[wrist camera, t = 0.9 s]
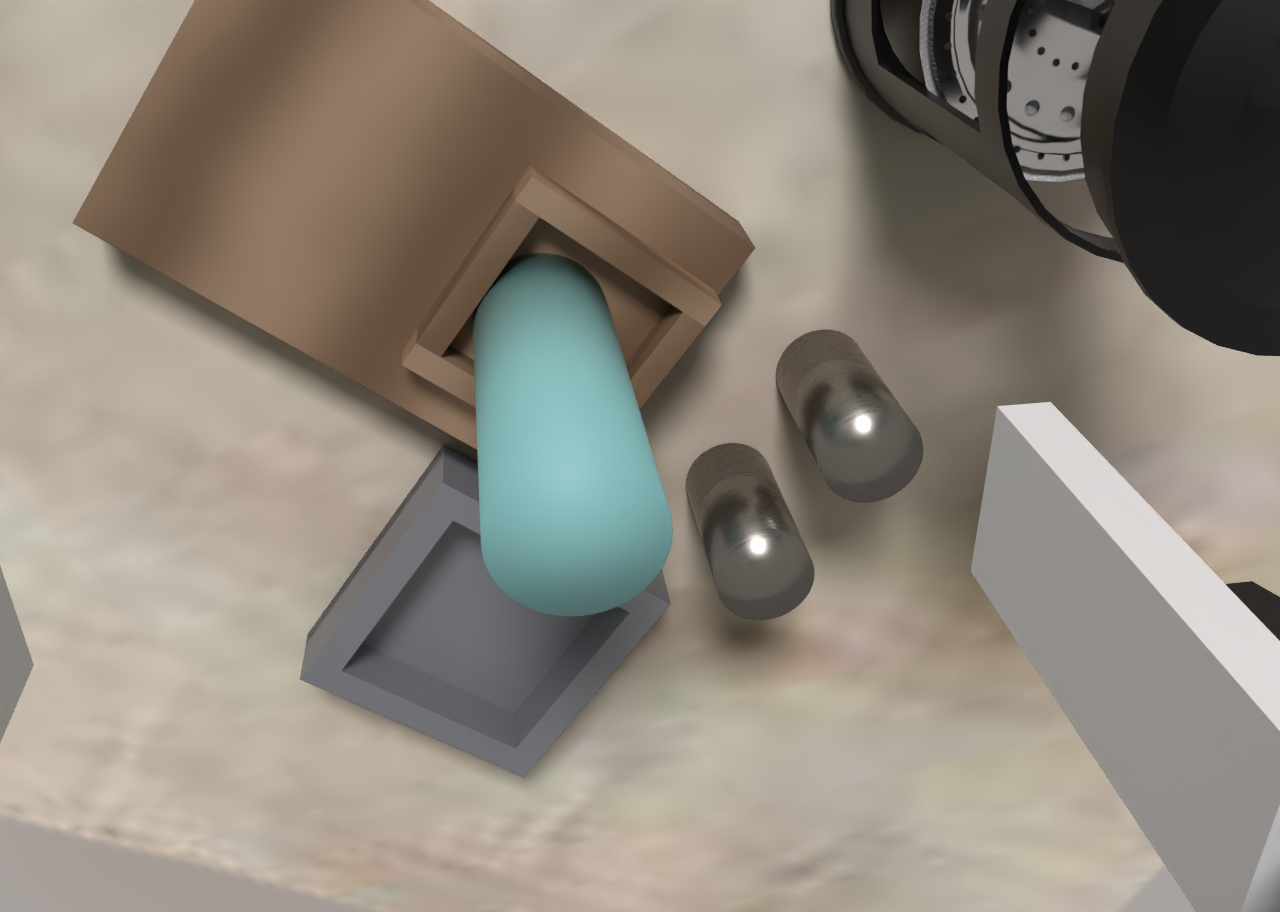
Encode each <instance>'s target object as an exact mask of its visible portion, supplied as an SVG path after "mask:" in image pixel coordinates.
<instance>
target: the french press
mask: <svg viewBox="0 0 1280 912" xmlns="http://www.w3.org/2000/svg"><path fill="white" fill-rule="evenodd" d="M831 15H832V19H833V24H834V28H835V33H836V37H837V42H838V46H839V48H840V51H841V53H842V55H843V58H844V60H845V62H846V64H847V67H848V69H849V71H850V73H851V75H852V76H853V78H854V79H855V81H856V82H857V83H858V85H859V86H860V87H861V89H862V90H863V92H864V93H865V94H866V96H867V97H868V98H869V99H870V100H871V101H872V102H873V103H874V104H876V105H877V106H878V107H879V108H880V109H881V110H882V111H883V112H885V113H886V114H887V115H888V116H889V117H890V118H892V119H893V120H895V121H897V122H899V123H901V124H902V125H904V126H906V127H908V128H910V129H912V130H914V131H915V132H917V133H921V134H924V135H927V136H929V137H930V138H932V139H934V140H936V141H938V142H940V143H941V144H943V145H945V146H946V147H948V148H949V149H950V150H952V151H953V152H954V153H956V154H957V155H958V156H960V157H961V158H962V159H964V160H965V161H966V162H968V163H969V164H970V165H972V166H973V167H974V168H976V169H977V170H979V171H980V172H981V173H983V174H984V175H985V176H987V177H988V178H989V179H991V180H992V181H993V182H995V183H996V184H997V185H999V186H1000V187H1001V188H1003V189H1004V190H1005V191H1007V192H1008V193H1009V194H1011V195H1012V196H1013V197H1015V198H1016V199H1017V200H1018V201H1019V202H1020V203H1021V204H1023V205H1024V206H1025V207H1026V208H1027V209H1028V210H1029V211H1030V212H1031V213H1033V214H1034V215H1035V216H1036V217H1037V218H1038V219H1039V220H1040V221H1042V222H1043V223H1044V224H1046V225H1047V226H1048V227H1050V228H1051V229H1052V230H1054V231H1055V232H1056V233H1058V234H1059V235H1060V236H1062V237H1063V238H1064V239H1066V240H1068V241H1070V242H1072V243H1074V244H1075V245H1077V246H1079V247H1081V248H1083V249H1085V250H1087V251H1089V252H1091V253H1092V254H1094V255H1096V256H1100V257H1104V258H1108V259H1111V260H1115V261H1119V262H1123V263H1124V264H1125V265H1126V267H1127V268H1128V270H1129V271H1130V273H1131V274H1132V276H1133V277H1134V279H1135V280H1136V282H1137V283H1138V285H1139V286H1140V288H1141V289H1142V291H1143V292H1144V294H1145V295H1146V296H1147V297H1148V298H1149V299H1150V300H1151V301H1153V302H1154V303H1155V304H1156V305H1157V306H1158V307H1159V308H1160V309H1161V310H1162V311H1164V312H1165V313H1166V314H1167V315H1168V316H1169V317H1170V318H1171V319H1172V320H1174V321H1175V322H1176V323H1177V324H1179V325H1180V326H1181V327H1183V328H1185V329H1187V330H1189V331H1191V332H1193V333H1195V334H1196V335H1198V336H1200V337H1202V338H1204V339H1206V340H1208V341H1210V342H1212V343H1214V344H1216V345H1218V346H1222V347H1226V348H1230V349H1234V350H1238V351H1242V352H1246V353H1250V354H1254V355H1262V356H1280V0H923V1H922V7H921V12H920V35H919V47H920V57H921V64H922V70H923V74H924V78H925V83H926V86H925V85H923V84H922V83H920V82H919V81H918V80H917V79H916V78H915V77H913V76H912V75H911V74H910V73H909V72H908V71H907V70H906V69H905V68H904V66H903V65H902V63H901V62H900V60H899V59H898V58H897V56H896V55H895V53H894V52H893V50H892V47H891V45H890V42H889V40H888V38H887V35H886V33H885V30H884V25H883V20H882V15H881V10H880V0H831ZM1084 178H1085V179H1086V182H1087V185H1088V188H1089V191H1090V194H1091V196H1092V199H1093V202H1094V205H1095V208H1096V210H1097V213H1098V215H1099V216H1100V218H1101V220H1102V221H1103V223H1104V224H1105V226H1106V227H1107V229H1108V230H1109V232H1110V233H1111V235H1112V236H1113V238H1108V237H1103V236H1099V235H1095V234H1092V233H1088V232H1084V231H1081V230H1077V229H1074V228H1072V227H1070V226H1068V225H1066V224H1064V223H1062V222H1061V221H1059V220H1057V219H1056V218H1055V217H1054V216H1053V215H1051V214H1050V213H1049V212H1048V211H1047V210H1046V209H1045V208H1044V206H1043V205H1042V203H1041V202H1040V200H1039V199H1038V197H1037V196H1036V194H1035V193H1034V191H1033V190H1032V188H1031V187H1030V185H1029V184H1028V183H1027V181H1026V179H1027V180H1032V181H1051V182H1064V181H1070V180H1077V179H1084Z"/></svg>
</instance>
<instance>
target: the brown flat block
mask: <svg viewBox="0 0 1280 912" xmlns="http://www.w3.org/2000/svg"><path fill="white" fill-rule="evenodd" d="M73 224H75V225H77V226H79V227H80V228H82V229H84V230H86V231H87V232H89V233H91V234H93V235H95V236H96V237H98V238H100V239H102V240H104V241H105V242H107V243H109V244H111V245H112V246H114V247H116V248H118V249H120V250H121V251H123V252H125V253H127V254H129V255H130V256H132V257H134V258H136V259H137V260H139V261H141V262H143V263H145V264H146V265H148V266H150V267H152V268H153V269H155V270H157V271H159V272H161V273H162V274H164V275H166V276H168V277H170V278H171V279H173V280H175V281H177V282H178V283H180V284H182V285H184V286H186V287H187V288H189V289H191V290H193V291H195V292H196V293H198V294H200V295H202V296H203V297H205V298H207V299H209V300H211V301H212V302H214V303H216V304H218V305H220V306H221V307H223V308H225V309H227V310H228V311H230V312H232V313H234V314H236V315H237V316H239V317H241V318H243V319H245V320H246V321H248V322H250V323H252V324H253V325H255V326H257V327H259V328H261V329H262V330H264V331H266V332H268V333H269V334H271V335H273V336H275V337H277V338H278V339H280V340H282V341H284V342H286V343H287V344H289V345H291V346H293V347H294V348H296V349H298V350H300V351H302V352H303V353H305V354H307V355H309V356H311V357H312V358H314V359H316V360H318V361H319V362H321V363H323V364H325V365H327V366H328V367H330V368H332V369H334V370H336V371H337V372H339V373H341V374H343V375H344V376H346V377H348V378H350V379H352V380H353V381H355V382H357V383H359V384H360V385H362V386H364V387H366V388H368V389H369V390H371V391H373V392H375V393H377V394H378V395H380V396H382V397H384V398H385V399H387V400H389V401H391V402H393V403H394V404H396V405H398V406H400V407H402V408H403V409H405V410H407V411H409V412H410V413H412V414H414V415H416V416H418V417H419V418H421V419H423V420H425V421H427V422H428V423H430V424H432V425H434V426H435V427H437V428H439V429H441V430H443V431H444V432H446V433H448V434H450V435H452V436H453V437H455V438H457V439H459V440H460V441H462V442H464V443H466V444H468V445H469V446H471V447H473V448H475V449H476V450H477V429H476V403H475V377H474V351H473V325H472V312H473V311H474V309H475V308H476V307H477V305H478V304H479V302H480V301H481V299H482V298H483V297H484V295H485V294H486V292H487V291H488V289H489V288H490V287H491V285H492V284H493V282H494V281H495V280H496V278H497V277H498V275H499V274H500V272H501V271H502V270H503V268H504V267H505V265H506V264H507V263H508V261H509V260H511V259H513V258H516V257H518V256H522V255H526V254H532V253H551V254H557V255H561V256H564V257H567V258H569V259H572V260H574V261H575V262H577V263H579V264H581V265H582V266H583V267H585V268H586V269H587V270H588V271H589V272H590V273H591V274H592V275H593V276H594V277H595V278H596V280H597V281H598V282H599V284H600V286H601V288H602V289H603V292H604V294H605V297H606V300H607V304H608V307H609V310H610V313H611V317H612V320H613V323H614V327H615V330H616V333H617V337H618V340H619V343H620V347H621V350H622V353H623V357H624V360H625V363H626V367H627V370H628V373H629V377H630V380H631V383H632V387H633V390H634V393H635V397H636V400H637V403H638V407H639V410H640V408H641V407H642V406H643V404H644V403H645V402H646V401H647V399H648V398H649V397H650V396H651V394H652V393H653V392H654V391H655V389H656V388H657V387H658V385H659V384H660V383H661V382H662V380H663V379H664V378H665V377H666V375H667V374H668V373H669V372H670V370H671V369H672V368H673V366H674V365H675V364H676V363H677V361H678V360H679V359H680V358H681V356H682V355H683V354H684V353H685V351H686V350H687V349H688V347H689V346H690V345H691V344H692V342H693V341H694V340H695V339H696V337H697V336H698V335H699V334H700V332H701V331H702V330H703V328H704V327H705V326H706V325H707V323H708V322H709V321H710V320H711V318H712V317H713V316H714V315H715V313H716V312H717V311H718V309H719V308H720V307H721V306H722V304H721V302H720V300H719V298H718V295H719V294H720V292H721V291H722V290H723V289H724V287H725V286H726V285H727V284H728V282H729V281H730V280H731V278H732V277H733V276H734V275H735V273H736V272H737V271H738V270H739V268H740V267H741V266H742V264H743V263H744V262H745V261H746V259H747V258H748V257H749V256H750V254H751V253H752V252H753V250H754V249H755V247H754V245H753V244H752V242H751V240H750V239H749V237H748V236H747V234H746V232H745V231H744V229H743V228H742V226H741V224H740V223H739V222H738V221H737V220H736V219H734V218H733V217H731V216H730V215H729V214H727V213H726V212H724V211H723V210H722V209H720V208H719V207H717V206H716V205H715V204H713V203H712V202H710V201H709V200H708V199H706V198H705V197H703V196H702V195H701V194H699V193H698V192H696V191H695V190H694V189H692V188H691V187H689V186H688V185H687V184H685V183H684V182H682V181H681V180H680V179H678V178H677V177H675V176H674V175H673V174H671V173H670V172H668V171H667V170H666V169H664V168H663V167H661V166H660V165H659V164H657V163H656V162H654V161H653V160H652V159H650V158H649V157H647V156H646V155H645V154H643V153H642V152H640V151H639V150H638V149H636V148H635V147H633V146H632V145H631V144H629V143H628V142H626V141H625V140H624V139H622V138H621V137H619V136H618V135H617V134H615V133H614V132H612V131H611V130H610V129H608V128H607V127H605V126H604V125H603V124H601V123H600V122H598V121H597V120H596V119H594V118H593V117H591V116H590V115H589V114H587V113H586V112H584V111H583V110H582V109H580V108H579V107H577V106H576V105H575V104H573V103H572V102H570V101H569V100H568V99H566V98H565V97H563V96H562V95H561V94H559V93H558V92H556V91H555V90H554V89H552V88H551V87H549V86H548V85H547V84H545V83H544V82H542V81H541V80H540V79H538V78H537V77H535V76H534V75H533V74H531V73H530V72H528V71H527V70H526V69H524V68H523V67H521V66H520V65H519V64H517V63H516V62H514V61H513V60H512V59H510V58H509V57H507V56H506V55H505V54H503V53H502V52H500V51H499V50H498V49H496V48H495V47H493V46H492V45H491V44H489V43H488V42H486V41H485V40H484V39H482V38H481V37H479V36H478V35H477V34H475V33H474V32H472V31H471V30H470V29H468V28H467V27H465V26H464V25H463V24H461V23H460V22H458V21H457V20H456V19H454V18H453V17H451V16H450V15H449V14H447V13H446V12H444V11H443V10H442V9H440V8H439V7H437V6H436V5H435V4H433V3H432V2H430V1H429V0H195V1H194V3H193V5H192V7H191V8H190V10H189V12H188V14H187V16H186V17H185V19H184V21H183V23H182V25H181V27H180V28H179V30H178V32H177V34H176V36H175V38H174V39H173V41H172V43H171V45H170V47H169V48H168V50H167V52H166V54H165V56H164V58H163V59H162V61H161V63H160V65H159V67H158V68H157V70H156V72H155V74H154V76H153V78H152V79H151V81H150V83H149V85H148V87H147V88H146V90H145V92H144V94H143V96H142V98H141V99H140V101H139V103H138V105H137V107H136V108H135V110H134V112H133V114H132V116H131V118H130V119H129V121H128V123H127V125H126V127H125V128H124V130H123V132H122V134H121V136H120V138H119V139H118V141H117V143H116V145H115V147H114V148H113V150H112V152H111V154H110V156H109V158H108V159H107V161H106V163H105V165H104V167H103V168H102V170H101V172H100V174H99V176H98V178H97V179H96V181H95V183H94V185H93V187H92V189H91V190H90V192H89V194H88V196H87V198H86V199H85V201H84V203H83V205H82V207H81V209H80V210H79V212H78V214H77V216H76V218H75V219H74V221H73Z"/></svg>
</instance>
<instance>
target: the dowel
mask: <svg viewBox="0 0 1280 912" xmlns="http://www.w3.org/2000/svg"><path fill="white" fill-rule="evenodd" d="M472 325H473V351H474V377H475V403H476V429H477V455H478V481H479V507H480V533H481V549H482V555H483V559H484V562H485V565H486V567H487V569H488V571H489V573H490V575H491V577H492V578H493V580H494V581H495V582H496V584H497V585H498V586H499V587H500V588H501V589H502V590H503V591H504V592H505V593H506V594H507V595H508V596H510V597H511V598H512V599H514V600H515V601H517V602H519V603H520V604H522V605H524V606H526V607H528V608H531V609H533V610H536V611H539V612H542V613H546V614H551V615H557V616H584V615H591V614H596V613H600V612H604V611H607V610H609V609H612V608H615V607H617V606H619V605H621V604H623V603H625V602H627V601H629V600H630V599H632V598H633V597H635V596H636V595H638V594H639V593H640V592H641V591H643V590H644V589H645V588H646V587H647V586H648V585H649V584H650V583H651V582H652V581H653V580H654V578H655V577H656V576H657V574H658V573H659V572H660V570H661V568H662V567H663V565H664V563H665V561H666V559H667V556H668V553H669V551H670V546H671V542H672V532H673V528H672V518H671V514H670V510H669V506H668V503H667V500H666V496H665V493H664V490H663V486H662V483H661V480H660V476H659V473H658V470H657V466H656V463H655V460H654V457H653V453H652V450H651V447H650V443H649V440H648V437H647V433H646V430H645V427H644V423H643V420H642V417H641V413H640V410H639V407H638V403H637V400H636V397H635V393H634V390H633V387H632V383H631V380H630V377H629V373H628V370H627V367H626V363H625V360H624V357H623V353H622V350H621V347H620V343H619V340H618V337H617V333H616V330H615V327H614V323H613V320H612V317H611V313H610V310H609V307H608V304H607V300H606V297H605V294H604V292H603V289H602V288H601V286H600V284H599V282H598V281H597V280H596V278H595V277H594V276H593V275H592V274H591V273H590V272H589V271H588V270H587V269H586V268H585V267H583V266H582V265H581V264H579V263H577V262H575V261H574V260H572V259H569V258H567V257H564V256H561V255H557V254H551V253H532V254H526V255H522V256H518V257H516V258H513V259H511V260H509V261H508V263H507V264H506V265H505V267H504V268H503V270H502V271H501V272H500V274H499V275H498V277H497V278H496V280H495V281H494V282H493V284H492V285H491V287H490V288H489V289H488V291H487V292H486V294H485V295H484V297H483V298H482V299H481V301H480V302H479V304H478V305H477V307H476V308H475V309H474V311H473V312H472Z"/></svg>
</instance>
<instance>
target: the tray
mask: <svg viewBox="0 0 1280 912" xmlns="http://www.w3.org/2000/svg"><path fill="white" fill-rule="evenodd" d="M670 605H671V604H670V600H669V596H668V592H667V588H666V584H665V580H664V576H663V572H662V569H661V570H660V572H659V573H658V574H657V576H656V577H655V578H654V580H653V581H652V582H651V583H650V584H649V585H648V586H647V587H646V588H645V589H644V590H643V591H641V592H640V593H639V594H638V595H636V596H635V597H633V598H632V599H630V600H629V601H627V602H625V603H623V604H621V605H619V606H617V607H615V608H612V609H609V610H607V611H604V612H600V613H596V614H591V615H584V616H557V615H551V614H546V613H542V612H539V611H536V610H533V609H531V608H528V607H526V606H524V605H522V604H520V603H519V602H517V601H515V600H514V599H512V598H511V597H510V596H508V595H507V594H506V593H505V592H504V591H503V590H502V589H501V588H500V587H499V586H498V585H497V584H496V582H495V581H494V580H493V578H492V577H491V575H490V573H489V571H488V569H487V567H486V565H485V562H484V559H483V555H482V549H481V533H480V507H479V481H478V463H476V462H474V461H472V460H470V459H469V458H467V457H465V456H463V455H461V454H460V453H458V452H456V451H454V450H452V449H450V448H449V447H447V446H445V445H443V447H442V448H441V450H440V451H439V452H438V454H437V455H436V456H435V458H434V459H433V461H432V462H431V463H430V465H429V466H428V468H427V469H426V470H425V472H424V473H423V475H422V476H421V477H420V479H419V480H418V482H417V483H416V484H415V486H414V487H413V489H412V490H411V491H410V493H409V494H408V495H407V497H406V498H405V500H404V501H403V502H402V504H401V505H400V507H399V508H398V509H397V511H396V512H395V514H394V515H393V516H392V518H391V519H390V521H389V522H388V523H387V525H386V526H385V527H384V529H383V530H382V532H381V533H380V534H379V536H378V537H377V539H376V540H375V541H374V543H373V544H372V546H371V547H370V548H369V550H368V551H367V553H366V554H365V555H364V557H363V558H362V560H361V561H360V562H359V564H358V565H357V566H356V568H355V569H354V571H353V572H352V573H351V575H350V576H349V578H348V579H347V580H346V582H345V583H344V585H343V586H342V587H341V589H340V590H339V592H338V593H337V594H336V596H335V597H334V599H333V600H332V601H331V603H330V604H329V605H328V607H327V608H326V610H325V611H324V612H323V614H322V615H321V617H320V618H319V619H318V621H317V622H316V624H315V625H314V626H313V628H312V629H311V631H310V632H309V633H308V637H307V642H306V648H305V653H304V659H303V664H302V670H301V675H300V680H302V681H305V682H307V683H309V684H312V685H314V686H316V687H318V688H321V689H323V690H325V691H328V692H330V693H332V694H334V695H337V696H339V697H341V698H344V699H346V700H348V701H350V702H353V703H355V704H357V705H359V706H362V707H364V708H366V709H369V710H371V711H373V712H375V713H378V714H380V715H382V716H385V717H387V718H389V719H391V720H394V721H396V722H398V723H400V724H403V725H405V726H407V727H410V728H412V729H414V730H416V731H419V732H421V733H423V734H426V735H428V736H430V737H432V738H435V739H437V740H439V741H441V742H444V743H446V744H448V745H451V746H453V747H455V748H457V749H460V750H462V751H464V752H467V753H469V754H471V755H473V756H476V757H478V758H480V759H482V760H485V761H487V762H489V763H492V764H494V765H496V766H498V767H501V768H503V769H505V770H508V771H510V772H512V773H514V774H517V775H519V776H521V777H523V778H524V776H525V775H526V774H527V773H528V772H529V770H530V769H531V768H532V767H533V766H534V765H535V763H536V762H537V761H538V760H539V759H540V758H541V756H542V755H543V754H544V753H545V752H546V750H547V749H548V748H549V747H550V746H551V745H552V743H553V742H554V741H555V740H556V739H557V738H558V736H559V735H560V734H561V733H562V732H563V730H564V729H565V728H566V727H567V726H568V725H569V723H570V722H571V721H572V720H573V719H574V718H575V716H576V715H577V714H578V713H579V712H580V710H581V709H582V708H583V707H584V706H585V705H586V703H587V702H588V701H589V700H590V699H591V698H592V696H593V695H594V694H595V693H596V692H597V690H598V689H599V688H600V687H601V686H602V685H603V683H604V682H605V681H606V680H607V679H608V677H609V676H610V675H611V674H612V673H613V672H614V670H615V669H616V668H617V667H618V666H619V665H620V663H621V662H622V661H623V660H624V659H625V657H626V656H627V655H628V654H629V653H630V652H631V650H632V649H633V648H634V647H635V646H636V645H637V643H638V642H639V641H640V640H641V639H642V637H643V636H644V635H645V634H646V633H647V632H648V630H649V629H650V628H651V627H652V626H653V625H654V623H655V622H656V621H657V620H658V619H659V617H660V616H661V615H662V614H663V613H664V612H665V610H666V609H667V608H668V607H669V606H670Z"/></svg>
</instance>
